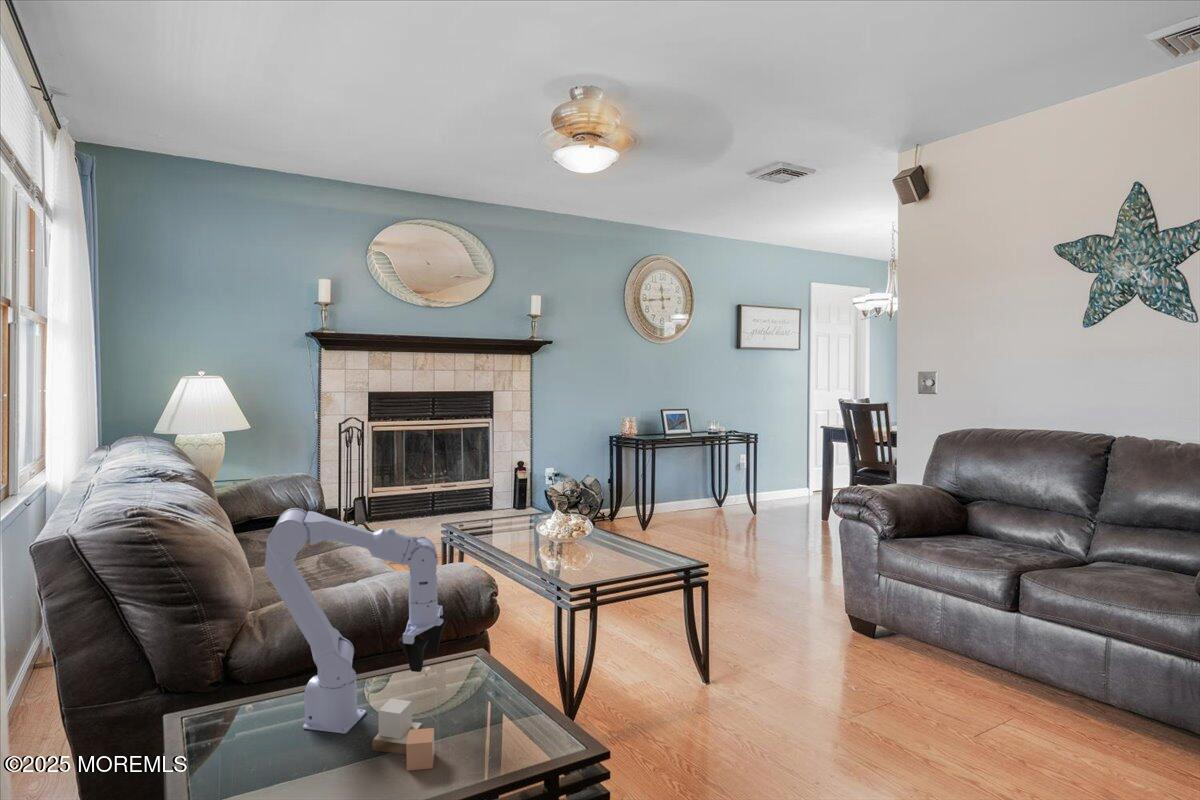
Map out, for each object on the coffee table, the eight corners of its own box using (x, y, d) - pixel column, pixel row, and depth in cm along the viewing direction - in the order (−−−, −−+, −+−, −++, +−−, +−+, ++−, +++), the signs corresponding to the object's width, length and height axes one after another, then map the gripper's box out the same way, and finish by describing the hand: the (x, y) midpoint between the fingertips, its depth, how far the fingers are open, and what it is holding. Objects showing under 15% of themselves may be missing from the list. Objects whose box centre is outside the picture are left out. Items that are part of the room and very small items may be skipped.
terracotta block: (406, 770, 125) (406, 744, 125) (409, 755, 130) (409, 729, 129) (432, 768, 126) (432, 742, 125) (434, 753, 130) (434, 727, 130)
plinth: (372, 751, 131) (372, 739, 131) (390, 730, 138) (389, 718, 138) (407, 756, 130) (406, 743, 130) (423, 734, 137) (423, 722, 137)
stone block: (378, 735, 132) (378, 710, 132) (391, 722, 136) (390, 698, 136) (400, 739, 131) (399, 713, 131) (412, 726, 135) (411, 701, 135)
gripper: (426, 614, 135) (427, 681, 137) (455, 587, 150) (456, 647, 151) (392, 611, 137) (394, 677, 138) (424, 584, 151) (425, 644, 152)
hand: (424, 661), depth 145 cm, fingers open, 7 cm apart
